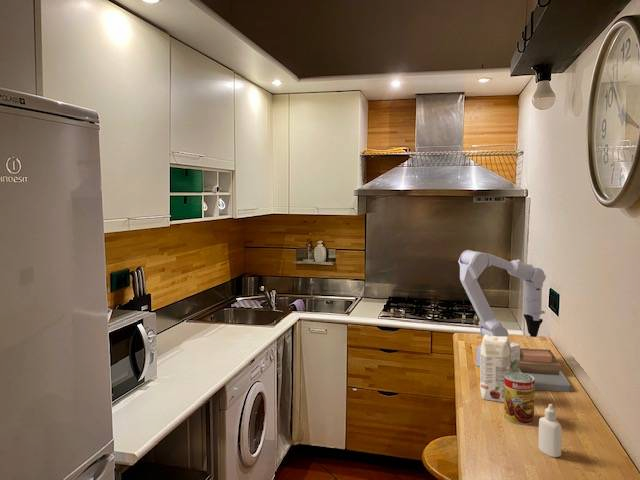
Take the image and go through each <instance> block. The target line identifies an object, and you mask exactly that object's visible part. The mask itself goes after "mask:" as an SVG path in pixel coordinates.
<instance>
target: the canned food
mask: <svg viewBox="0 0 640 480" xmlns="http://www.w3.org/2000/svg"><path fill="white" fill-rule="evenodd" d="M535 391H536V390H535V378H534V377H533V376H531V375H529V374H526V373H521V372H510V373H506V374H505V375H504V402H503V418H504V419H505V420H506V421H508V422H509V423H512V424H515V425H523V426H524V425H525V426H526V425H530V424H532V423H534V421H535Z"/></svg>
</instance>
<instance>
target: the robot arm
mask: <svg viewBox="0 0 640 480" xmlns="http://www.w3.org/2000/svg"><path fill="white" fill-rule="evenodd" d="M457 262H458V264H459V280H460V283H461V285H462V287H463V288H464V291H465V293H466V295H467V297H468V298H469V299H468V300H469V301H470V303H471V305H472V307H473V309H474V311H475V313H476V315H477V317H478V319H479V321H478V326H479V334H480V336H482V339H483V338H484V335H492V336H506V337H509V332H508V330H507V329H506V327H504V326H503V325H502V323H501V322H500V321H499V320H498V318H496V317H495V315H494V312H493V310H492V308H491V306H490V304H489V303H488V300H487V298H486V296H485V294H484V292H483V290H482V288H481V286H480V284H479V281H478V278H479V277H480V275H482V273H483V272H484V270H485V269H486V268H487V267H489V268H490V267H491V266H494V267H498V268H500V269H503V270H506V271H507V274H509V275H510V276H513V277H515V278H519V279H521V280H524V282H525V283H524V284H525V285H524V286H525V287H524V310H523V313H524V314H523V318H524V319H525V323H526V328H527V333H528V334H529V336H530V337H531V338H538V333H539V330H540V327H541V326H542V325H541V324H542V323H543V318H540V317H541V315H542V314H543V315H544V314H545V313H546V312H545V310H542V303H543V302H542V301H543V299H542V297H543V295H542V294H543V292H542V291H543V287H544V282H545V281H546V279H547V275H545V271H544V270H543V269H542V268H539V267H535V266H534V265H533V264H531V263H524V262H523V261H522V259H513V260H511V261H509V260H507V259H504V258H503V257H499V256H496V255H494V254H492V253H487V252H482V251H475V250H471V249H466V250H464V251H463V252H462V253H461V254H460V256H459V259H458V261H457ZM480 359H481V344H478V346H477V347H476V362H475V364H474V365H475V366H477V367H480Z"/></svg>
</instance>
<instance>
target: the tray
mask: <svg viewBox="0 0 640 480" xmlns="http://www.w3.org/2000/svg"><path fill="white" fill-rule="evenodd" d="M519 372H521V370H520V368H519ZM526 374H529V373H526ZM529 375H531V376H533V377H534V378H535V391H536V390H537V391H539V390H540V391H549V392H550V391H551V392H563V393H565V392H566V393H571V392H572V385H571V384H570V382H569V380H568V378H566V376H565V374H564V373H563V372H562V370H561V371H559V375H545V374H529Z"/></svg>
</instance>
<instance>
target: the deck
mask: <svg viewBox="0 0 640 480" xmlns="http://www.w3.org/2000/svg"><path fill="white" fill-rule="evenodd" d="M522 350H531V351H548V352H549V353H550V355H551V356H552V362H541V361H524V359H523V357H522ZM519 368H520V370H521V373H529V374H545V375H559V371H561V372H562V364H561V362H559V360H558V358H557V357H556V356H555V354H554V353H553V352H552V350H551V349H540V348H525V347H524V348H521V347H520V366H519Z"/></svg>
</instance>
